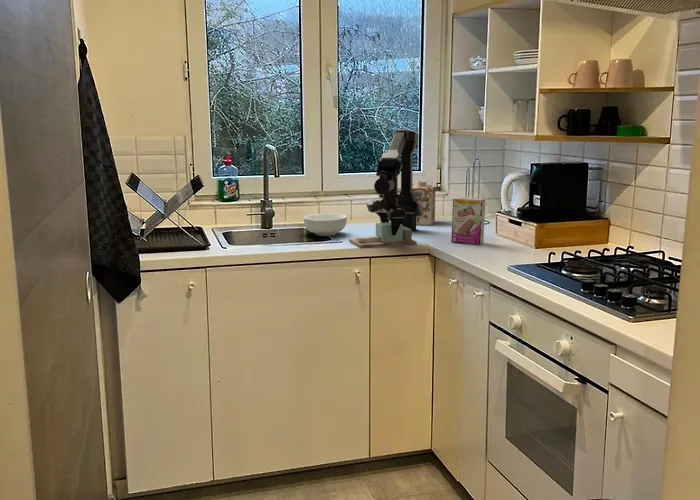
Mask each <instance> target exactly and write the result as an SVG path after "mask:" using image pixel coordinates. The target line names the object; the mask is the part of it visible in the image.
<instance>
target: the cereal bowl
mask: <svg viewBox="0 0 700 500" xmlns="http://www.w3.org/2000/svg"><path fill="white" fill-rule="evenodd" d="M303 224H304V227H305V228H306V230H307V231H308V232H310V233H312V234H315V235H316V236H320V237H329V236H331V237H332V236H335V235H336V234H337V233H339V232H341V231H342V230H344V229H345V228H346V225H347V215H345V214H339V213H314V214H308V215H305V216H304V217H303Z"/></svg>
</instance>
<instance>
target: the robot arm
mask: <svg viewBox="0 0 700 500" xmlns="http://www.w3.org/2000/svg"><path fill="white" fill-rule="evenodd" d="M418 143H419V135H418V133H416V131H415V130H413V131H412V130H409V129H406V128H404V129H402V128H401V129H399V128H398V129H395V130H394V131H393V138H392V140H391V143H390V145H389V148H388V150H387V151H386V152H384V153H383V154H382V155H381V157H380V159H379V160H378V164H377V170H376V173H375V175H376V177H379V178H378V179H376V180H375V182H374V184H373V185H374V187H373V188H374V191H375V192H376V193H377V194H378V195H379V197H378V198H375V199H372V200H370V201H368V202H366V203H365V204H366V205H365V206H366V207H367V211H368V212H370V213H375V214H376V216H378V217H379V221H380V223H387V222H391V231H392V235H393V236H395V235H396V233H397V231H398V229H399V227H400V225H401V224H402V225H403V227H406V228H409V229H411V230H412V232H417V231H418V230H419V229H418V228H417V225H416V216H420V209H419V205H418V202H417V199H416V195H415V193H414V192H413V190H412V185H413V161H414V160H413V157H414V156H413V154H414V152H415V150H416V148H417V145H418ZM399 175H400V192H399V191H398V189H399V188H398V187H399V186H398V185H399V184H398V183H399V182H398V176H399ZM398 192H399V193H398ZM409 212H415V213H409Z"/></svg>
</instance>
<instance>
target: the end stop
mask: <svg viewBox="0 0 700 500" xmlns="http://www.w3.org/2000/svg"><path fill="white" fill-rule="evenodd" d="M412 234H413V231H412V230H411V229H409V228H406V227H403V235H402V236H403V240H404V241H412V240H413V239H412V237H413V236H412Z"/></svg>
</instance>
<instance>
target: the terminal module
mask: <svg viewBox="0 0 700 500" xmlns="http://www.w3.org/2000/svg"><path fill="white" fill-rule="evenodd" d="M402 235H403V225H402V224H401V225H400V227H399V229H398V231H397V233H396V235H395V236H393V235H392V231H391V222H390V221H389V222H387V223H381V222H376V223H375V236H380V237H381V242H394V241H402Z"/></svg>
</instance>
